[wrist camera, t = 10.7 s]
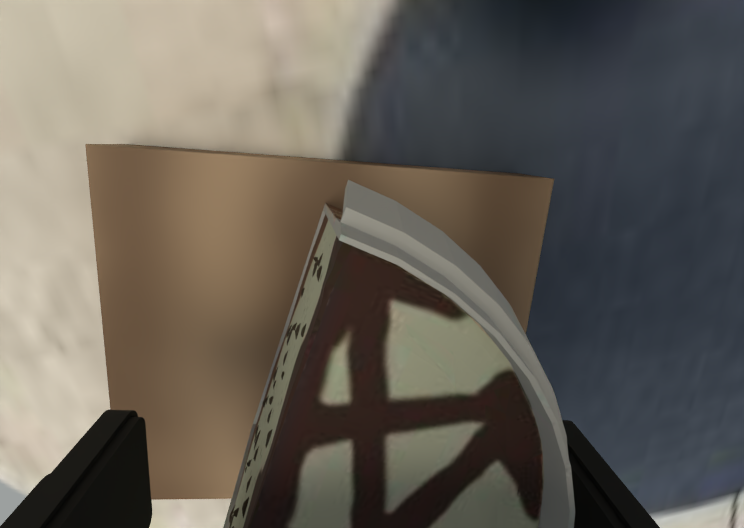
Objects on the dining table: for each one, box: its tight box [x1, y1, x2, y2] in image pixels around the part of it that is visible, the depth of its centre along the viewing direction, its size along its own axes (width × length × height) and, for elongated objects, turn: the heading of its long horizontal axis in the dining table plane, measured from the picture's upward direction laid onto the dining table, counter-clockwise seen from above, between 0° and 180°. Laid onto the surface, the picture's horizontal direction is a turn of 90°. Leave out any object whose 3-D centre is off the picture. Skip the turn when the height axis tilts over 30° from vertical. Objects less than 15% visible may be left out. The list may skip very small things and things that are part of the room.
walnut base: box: [86, 144, 554, 499], centre depth 18 cm, size 16×14×3 cm
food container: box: [223, 180, 575, 528], centre depth 12 cm, size 12×6×10 cm, turn 160°
